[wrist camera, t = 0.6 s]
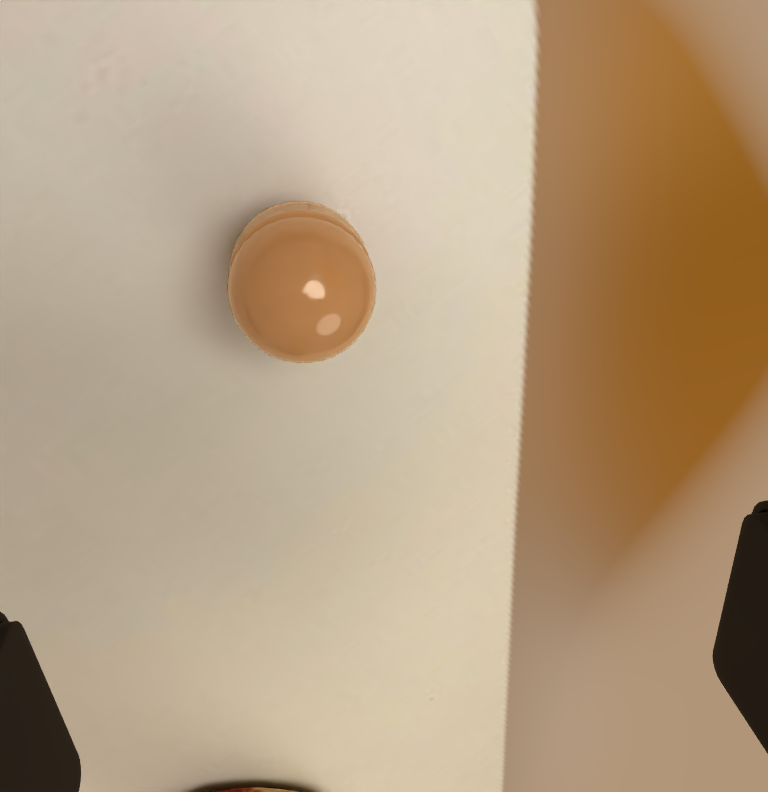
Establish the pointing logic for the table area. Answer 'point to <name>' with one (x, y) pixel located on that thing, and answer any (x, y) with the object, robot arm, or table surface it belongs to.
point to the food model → (254, 790)
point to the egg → (301, 282)
